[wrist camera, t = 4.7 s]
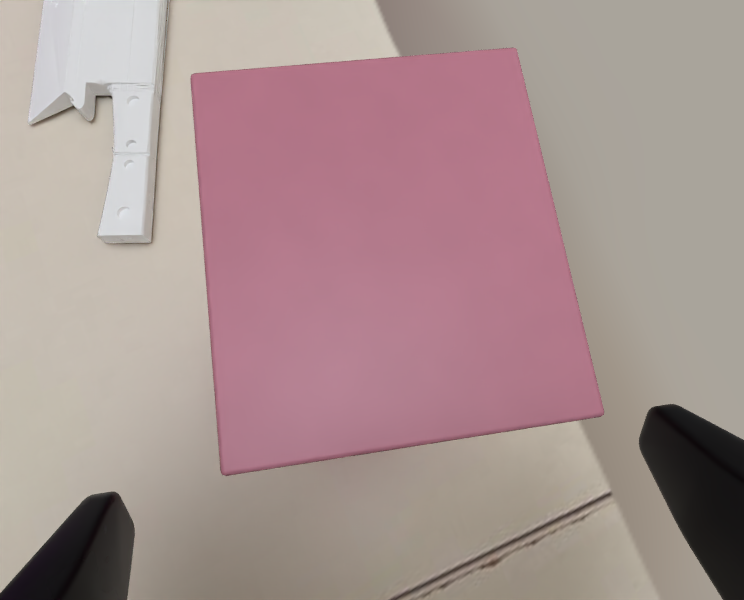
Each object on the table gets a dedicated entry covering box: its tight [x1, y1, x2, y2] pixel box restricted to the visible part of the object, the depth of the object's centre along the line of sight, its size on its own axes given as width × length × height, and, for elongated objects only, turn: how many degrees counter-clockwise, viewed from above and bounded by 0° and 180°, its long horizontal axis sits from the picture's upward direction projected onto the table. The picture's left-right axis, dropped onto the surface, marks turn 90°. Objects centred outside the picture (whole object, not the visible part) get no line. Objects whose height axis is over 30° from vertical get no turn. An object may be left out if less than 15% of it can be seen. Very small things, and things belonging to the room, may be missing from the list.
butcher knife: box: [28, 0, 169, 243], centre depth 20 cm, size 5×15×1 cm, turn 2°
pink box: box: [191, 48, 604, 476], centre depth 12 cm, size 5×4×13 cm
